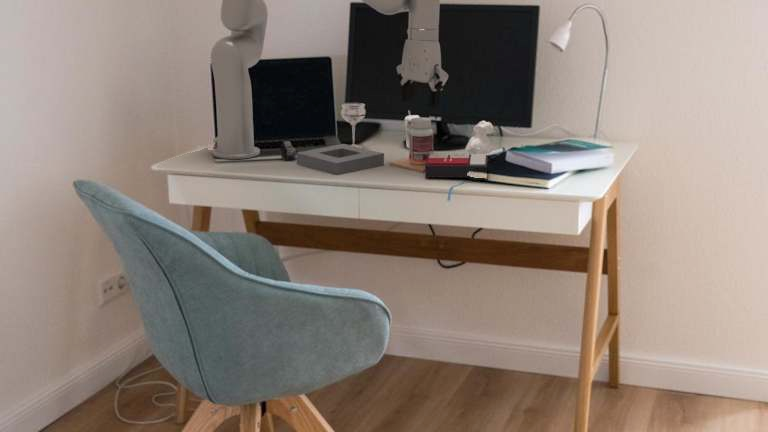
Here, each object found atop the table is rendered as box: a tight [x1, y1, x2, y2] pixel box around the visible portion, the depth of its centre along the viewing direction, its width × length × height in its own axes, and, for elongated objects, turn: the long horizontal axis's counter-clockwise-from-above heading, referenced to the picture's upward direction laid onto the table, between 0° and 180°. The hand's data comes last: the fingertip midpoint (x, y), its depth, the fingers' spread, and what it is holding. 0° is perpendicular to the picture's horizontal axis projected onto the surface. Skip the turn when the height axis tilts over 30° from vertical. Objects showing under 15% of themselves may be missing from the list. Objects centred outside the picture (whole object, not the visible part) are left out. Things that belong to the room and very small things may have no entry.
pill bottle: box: [408, 117, 434, 165], centre depth 248 cm, size 6×6×11 cm
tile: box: [389, 157, 426, 174], centre depth 249 cm, size 12×12×1 cm
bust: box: [464, 120, 494, 155], centre depth 255 cm, size 12×8×11 cm
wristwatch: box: [280, 140, 297, 161], centre depth 256 cm, size 3×5×5 cm
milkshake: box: [404, 110, 421, 149], centre depth 268 cm, size 4×5×10 cm
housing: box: [296, 143, 385, 176], centre depth 250 cm, size 16×16×3 cm
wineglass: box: [340, 102, 366, 148], centre depth 268 cm, size 7×7×12 cm
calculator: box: [424, 152, 489, 181], centre depth 239 cm, size 11×4×15 cm
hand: (420, 103), depth 245 cm, fingers open, 9 cm apart
